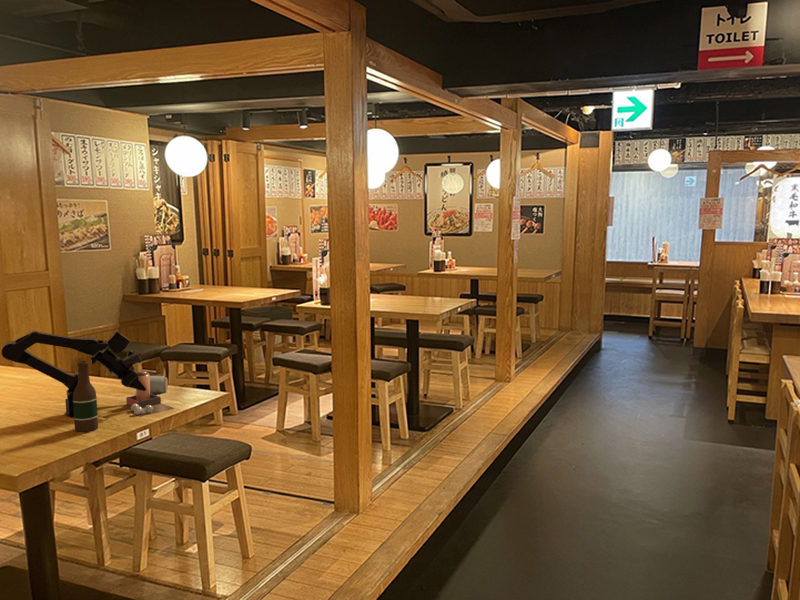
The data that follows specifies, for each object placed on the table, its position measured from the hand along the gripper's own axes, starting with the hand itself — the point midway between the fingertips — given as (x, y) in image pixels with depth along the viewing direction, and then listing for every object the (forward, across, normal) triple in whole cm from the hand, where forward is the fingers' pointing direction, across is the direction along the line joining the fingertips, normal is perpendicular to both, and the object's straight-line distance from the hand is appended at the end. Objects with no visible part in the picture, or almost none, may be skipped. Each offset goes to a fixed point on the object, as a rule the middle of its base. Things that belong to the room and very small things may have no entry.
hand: (143, 387), depth 245 cm
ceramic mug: (+11, +18, 0) cm, 21 cm away
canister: (+5, 0, +5) cm, 7 cm away
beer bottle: (-10, -20, +21) cm, 31 cm away
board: (+6, -10, +4) cm, 12 cm away
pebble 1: (0, -9, +7) cm, 11 cm away
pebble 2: (+1, -14, +6) cm, 15 cm away
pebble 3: (+4, -13, +4) cm, 14 cm away
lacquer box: (+5, 0, +5) cm, 7 cm away
